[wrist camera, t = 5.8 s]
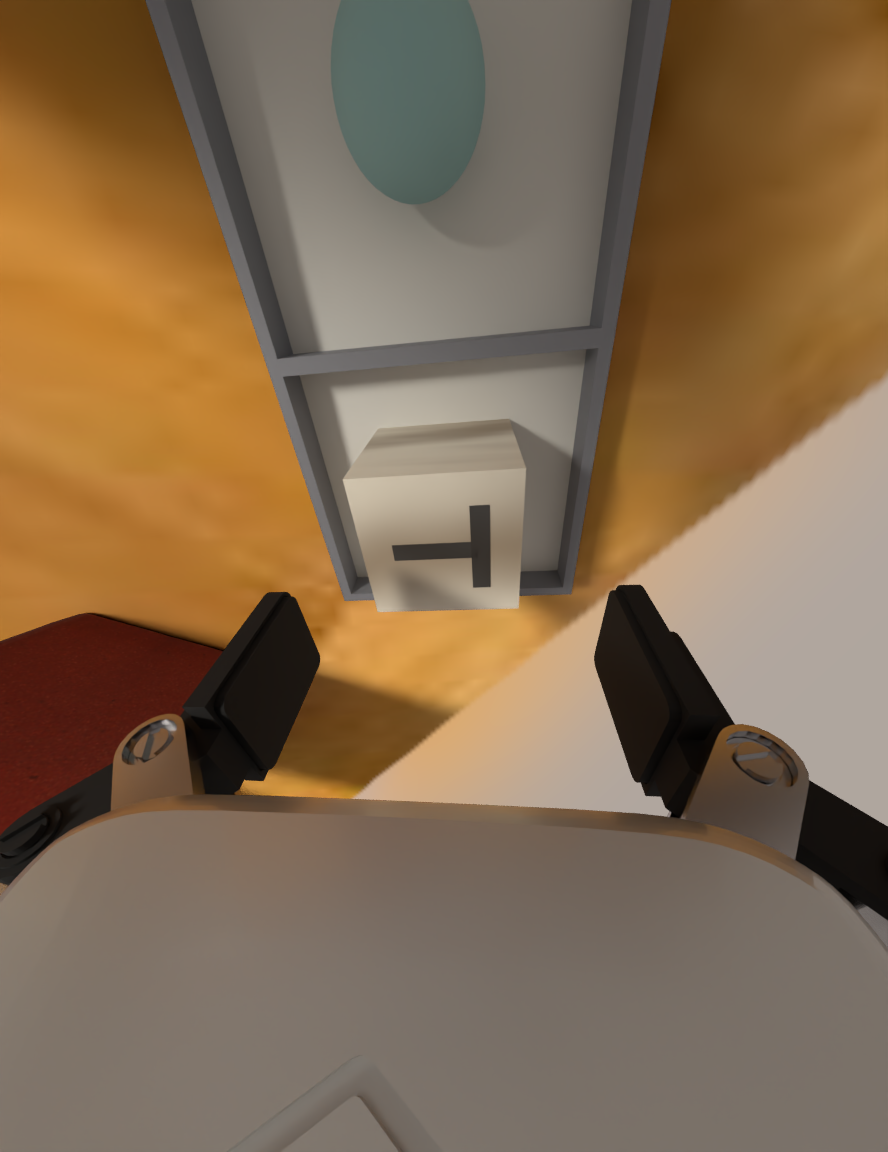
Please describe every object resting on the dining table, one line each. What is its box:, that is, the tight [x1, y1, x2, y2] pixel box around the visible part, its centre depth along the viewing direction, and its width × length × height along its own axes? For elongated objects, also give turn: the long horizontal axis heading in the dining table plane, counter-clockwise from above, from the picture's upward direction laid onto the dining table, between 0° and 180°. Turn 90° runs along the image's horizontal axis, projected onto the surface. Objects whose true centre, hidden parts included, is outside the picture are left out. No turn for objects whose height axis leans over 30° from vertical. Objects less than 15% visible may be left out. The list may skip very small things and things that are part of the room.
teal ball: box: [331, 0, 485, 204], centre depth 10 cm, size 4×4×4 cm
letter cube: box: [343, 419, 526, 612], centre depth 16 cm, size 6×6×6 cm
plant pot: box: [0, 613, 223, 835], centre depth 24 cm, size 19×19×17 cm
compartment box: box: [145, 0, 671, 601], centre depth 14 cm, size 24×13×2 cm, turn 5°
